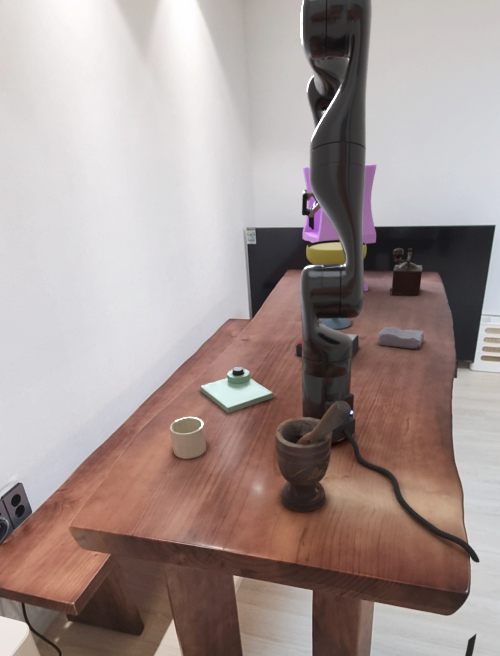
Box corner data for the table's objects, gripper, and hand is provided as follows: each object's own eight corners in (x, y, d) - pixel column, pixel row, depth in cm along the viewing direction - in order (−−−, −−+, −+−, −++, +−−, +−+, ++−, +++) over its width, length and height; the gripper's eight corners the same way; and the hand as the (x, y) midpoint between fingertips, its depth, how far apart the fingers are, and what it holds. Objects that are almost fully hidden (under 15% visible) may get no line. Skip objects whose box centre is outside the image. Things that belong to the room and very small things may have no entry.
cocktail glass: (319, 336, 143) (319, 252, 131) (298, 319, 158) (297, 243, 147) (372, 328, 147) (378, 246, 135) (347, 312, 162) (350, 237, 151)
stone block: (384, 340, 142) (376, 345, 133) (386, 324, 140) (378, 328, 132) (424, 346, 137) (418, 351, 128) (427, 330, 135) (422, 334, 127)
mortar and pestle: (353, 490, 78) (359, 383, 68) (343, 525, 71) (348, 410, 61) (286, 478, 81) (283, 375, 72) (271, 510, 74) (265, 400, 65)
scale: (273, 397, 109) (273, 386, 107) (228, 413, 103) (227, 401, 102) (242, 377, 120) (242, 366, 118) (200, 390, 114) (198, 379, 113)
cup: (212, 451, 90) (209, 427, 88) (181, 462, 87) (177, 438, 85) (197, 437, 95) (194, 413, 93) (168, 447, 92) (164, 423, 90)
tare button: (245, 374, 115) (245, 369, 114) (236, 377, 114) (235, 371, 113) (240, 371, 117) (239, 365, 116) (231, 374, 115) (230, 368, 115)
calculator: (308, 330, 138) (358, 332, 131) (309, 344, 139) (359, 347, 133) (295, 343, 129) (348, 346, 123) (296, 357, 131) (348, 361, 124)
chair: (303, 283, 201) (302, 167, 180) (352, 278, 204) (357, 163, 183) (318, 296, 182) (319, 168, 161) (372, 291, 185) (380, 164, 164)
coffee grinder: (390, 288, 187) (394, 241, 179) (419, 288, 184) (425, 241, 176) (388, 298, 174) (392, 249, 166) (419, 299, 171) (424, 249, 163)
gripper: (300, 175, 116) (302, 235, 128) (358, 172, 113) (355, 234, 126) (301, 162, 120) (303, 222, 133) (357, 159, 118) (354, 220, 130)
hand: (328, 227), depth 129 cm, fingers open, 8 cm apart
